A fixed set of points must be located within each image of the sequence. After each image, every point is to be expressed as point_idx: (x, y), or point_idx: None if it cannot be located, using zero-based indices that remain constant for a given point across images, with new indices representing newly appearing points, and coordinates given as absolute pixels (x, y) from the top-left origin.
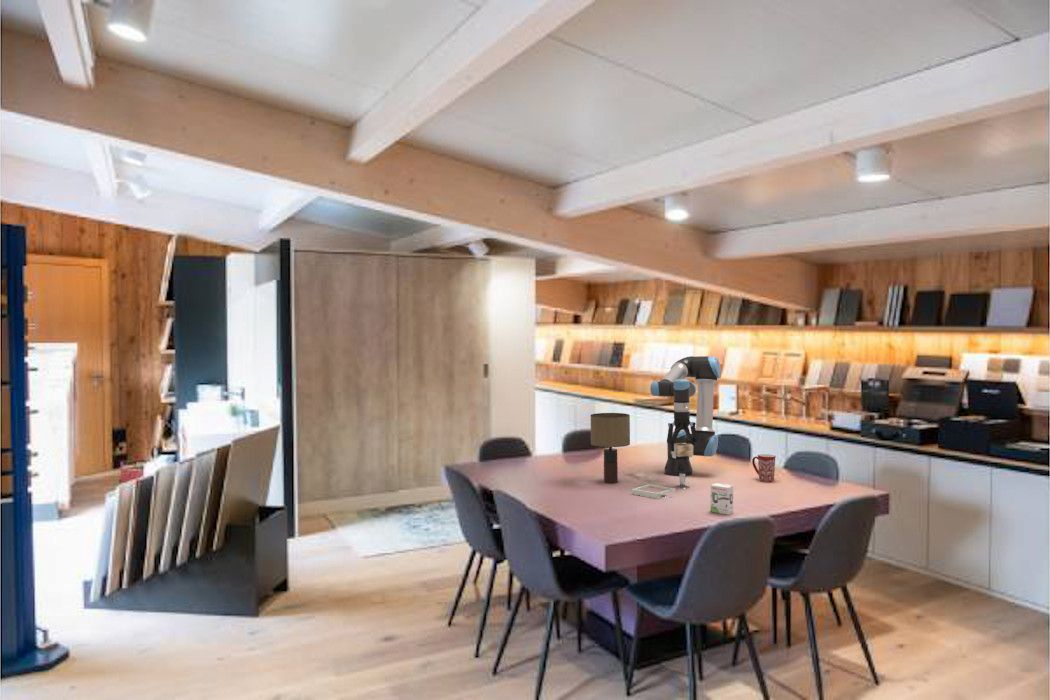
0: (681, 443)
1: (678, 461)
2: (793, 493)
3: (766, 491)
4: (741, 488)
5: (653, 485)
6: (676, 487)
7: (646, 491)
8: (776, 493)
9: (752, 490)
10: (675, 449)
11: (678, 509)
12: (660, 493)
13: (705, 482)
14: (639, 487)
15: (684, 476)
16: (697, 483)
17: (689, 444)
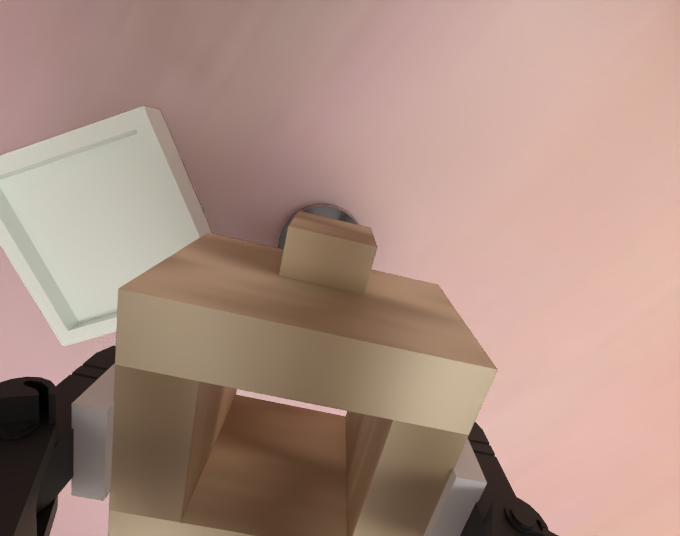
0: (370, 378)
1: None
2: (676, 533)
3: (632, 466)
4: (608, 374)
5: (148, 157)
6: (282, 241)
7: (24, 274)
8: (626, 505)
9: (605, 426)
10: None
11: (79, 498)
12: (89, 338)
13: (603, 153)
14: (27, 158)
15: None
16: (538, 148)
17: (413, 525)
